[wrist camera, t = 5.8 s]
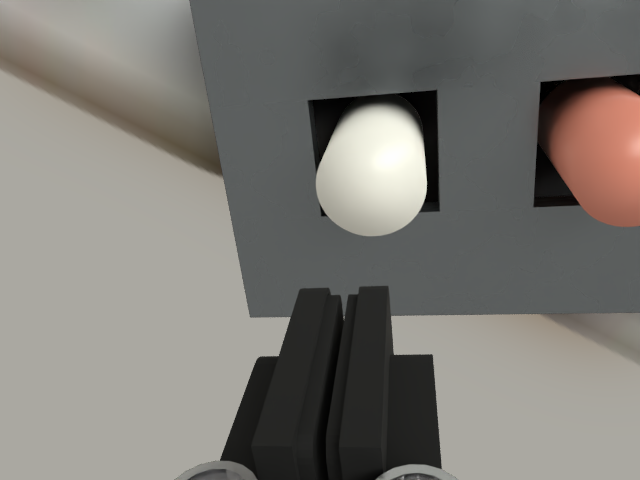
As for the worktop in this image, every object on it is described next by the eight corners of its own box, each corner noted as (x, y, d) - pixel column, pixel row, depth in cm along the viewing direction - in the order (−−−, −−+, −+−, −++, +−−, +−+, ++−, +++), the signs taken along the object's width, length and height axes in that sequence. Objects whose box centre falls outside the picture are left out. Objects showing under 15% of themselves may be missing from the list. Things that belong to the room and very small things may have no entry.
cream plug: (421, 87, 23) (425, 128, 17) (424, 173, 24) (428, 234, 19) (332, 95, 23) (309, 136, 18) (340, 177, 25) (321, 238, 20)
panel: (1009, -131, 20) (1231, -162, 14) (881, 234, 26) (1004, 307, 20) (232, -34, 25) (183, -32, 19) (277, 254, 31) (250, 317, 25)
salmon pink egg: (638, 70, 21) (713, 108, 16) (626, 162, 23) (691, 224, 18) (537, 78, 22) (578, 117, 17) (532, 167, 24) (568, 229, 18)
